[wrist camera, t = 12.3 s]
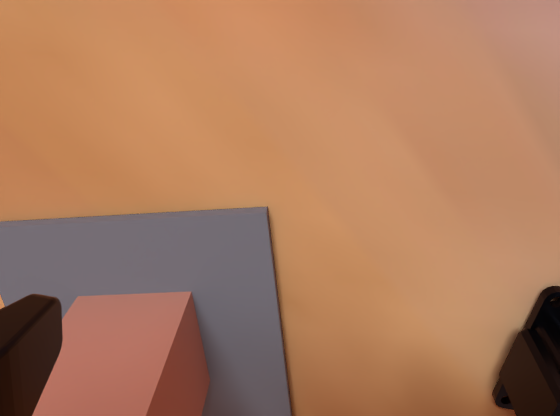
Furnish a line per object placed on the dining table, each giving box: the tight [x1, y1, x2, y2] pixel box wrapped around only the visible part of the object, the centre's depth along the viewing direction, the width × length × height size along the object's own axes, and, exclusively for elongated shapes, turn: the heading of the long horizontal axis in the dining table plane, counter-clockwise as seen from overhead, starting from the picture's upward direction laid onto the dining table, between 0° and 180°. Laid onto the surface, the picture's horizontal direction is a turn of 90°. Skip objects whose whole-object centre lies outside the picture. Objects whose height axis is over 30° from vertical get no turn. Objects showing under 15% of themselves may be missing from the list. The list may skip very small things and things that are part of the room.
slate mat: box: [0, 207, 292, 416], centre depth 24 cm, size 12×12×1 cm
